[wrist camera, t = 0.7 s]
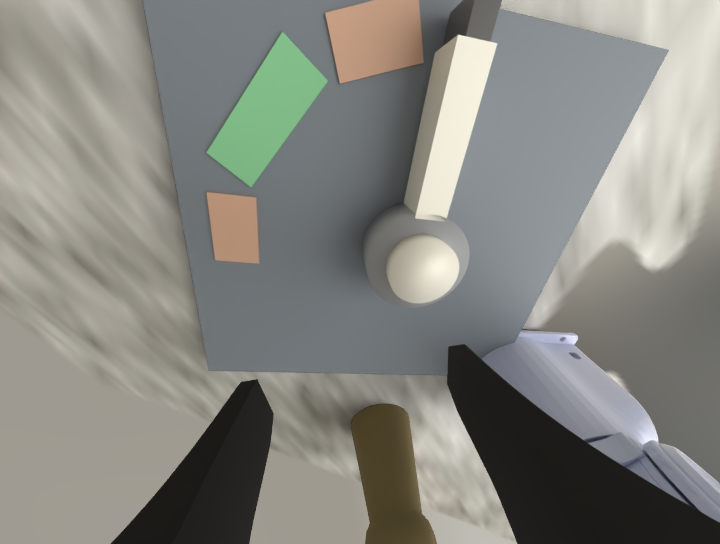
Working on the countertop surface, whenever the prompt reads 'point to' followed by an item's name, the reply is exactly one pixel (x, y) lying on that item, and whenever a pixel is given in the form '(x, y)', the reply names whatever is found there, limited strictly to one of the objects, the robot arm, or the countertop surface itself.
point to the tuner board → (372, 170)
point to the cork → (389, 476)
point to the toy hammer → (435, 171)
